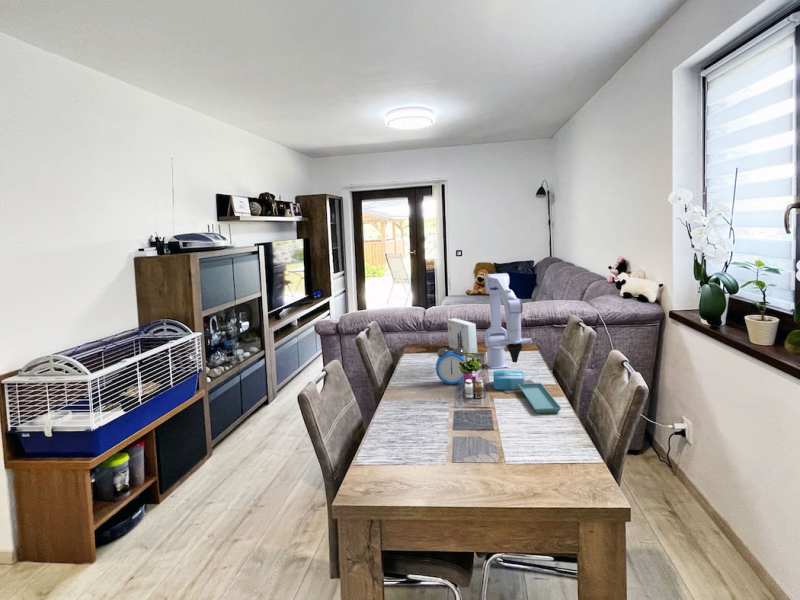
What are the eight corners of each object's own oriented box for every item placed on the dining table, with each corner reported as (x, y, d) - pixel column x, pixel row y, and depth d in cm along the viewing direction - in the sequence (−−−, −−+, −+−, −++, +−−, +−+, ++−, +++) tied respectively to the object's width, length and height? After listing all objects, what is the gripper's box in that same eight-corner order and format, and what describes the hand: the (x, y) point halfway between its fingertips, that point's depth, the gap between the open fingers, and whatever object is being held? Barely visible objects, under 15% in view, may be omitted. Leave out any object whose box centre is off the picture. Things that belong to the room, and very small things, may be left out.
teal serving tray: (561, 413, 178) (561, 406, 178) (535, 414, 178) (535, 407, 178) (541, 388, 204) (541, 382, 204) (518, 390, 204) (518, 384, 204)
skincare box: (448, 347, 284) (446, 318, 282) (456, 346, 287) (455, 317, 284) (468, 355, 265) (467, 324, 263) (477, 353, 268) (476, 323, 265)
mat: (495, 384, 215) (495, 383, 215) (530, 380, 217) (530, 379, 217) (506, 393, 202) (506, 392, 202) (543, 390, 204) (543, 389, 204)
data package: (522, 370, 216) (524, 378, 204) (522, 380, 216) (525, 389, 204) (493, 370, 217) (493, 378, 206) (493, 380, 218) (494, 389, 206)
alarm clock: (436, 385, 218) (435, 350, 216) (436, 380, 224) (435, 346, 222) (468, 384, 216) (466, 349, 214) (467, 380, 222) (466, 345, 220)
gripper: (499, 332, 205) (500, 365, 207) (534, 329, 207) (535, 362, 209) (494, 329, 212) (495, 361, 214) (527, 326, 214) (528, 358, 216)
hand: (514, 361), depth 212 cm, fingers closed
